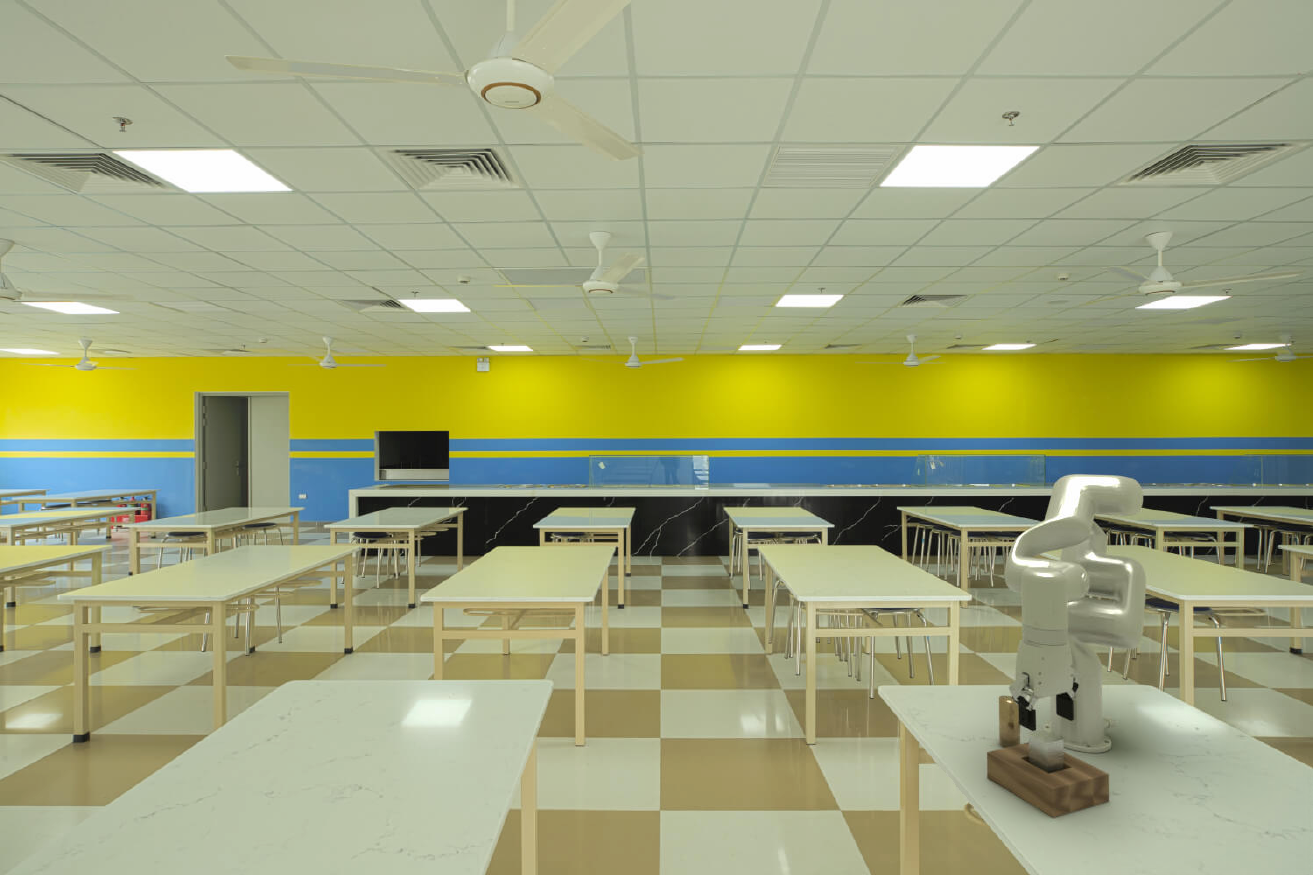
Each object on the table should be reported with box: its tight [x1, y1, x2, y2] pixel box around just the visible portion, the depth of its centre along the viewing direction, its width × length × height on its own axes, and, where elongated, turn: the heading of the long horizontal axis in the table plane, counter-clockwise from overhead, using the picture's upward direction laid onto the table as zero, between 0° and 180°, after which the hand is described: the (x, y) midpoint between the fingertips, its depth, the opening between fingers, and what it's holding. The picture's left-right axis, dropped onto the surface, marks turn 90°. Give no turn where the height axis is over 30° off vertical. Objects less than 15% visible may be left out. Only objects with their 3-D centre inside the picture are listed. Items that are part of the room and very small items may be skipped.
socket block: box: [986, 741, 1110, 818], centre depth 121 cm, size 14×14×5 cm
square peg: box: [1028, 729, 1064, 773], centre depth 121 cm, size 4×4×10 cm
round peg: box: [998, 695, 1021, 749], centre depth 137 cm, size 4×4×10 cm
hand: (1046, 722), depth 121 cm, fingers open, 9 cm apart
